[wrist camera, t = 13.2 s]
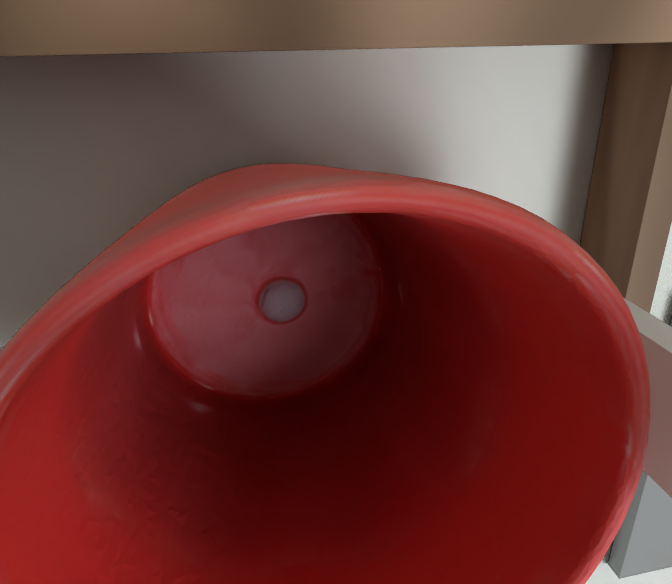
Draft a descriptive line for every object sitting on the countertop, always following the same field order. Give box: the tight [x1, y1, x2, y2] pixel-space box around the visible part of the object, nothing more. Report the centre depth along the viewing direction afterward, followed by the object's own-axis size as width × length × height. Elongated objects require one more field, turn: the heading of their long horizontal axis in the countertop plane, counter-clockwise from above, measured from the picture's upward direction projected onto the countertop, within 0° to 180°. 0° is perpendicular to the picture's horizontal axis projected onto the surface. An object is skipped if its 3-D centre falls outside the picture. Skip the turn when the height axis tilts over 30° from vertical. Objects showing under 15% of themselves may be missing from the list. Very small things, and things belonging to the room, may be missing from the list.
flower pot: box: [0, 164, 650, 584], centre depth 12 cm, size 11×11×10 cm
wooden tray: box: [0, 0, 672, 313], centre depth 16 cm, size 23×16×2 cm
